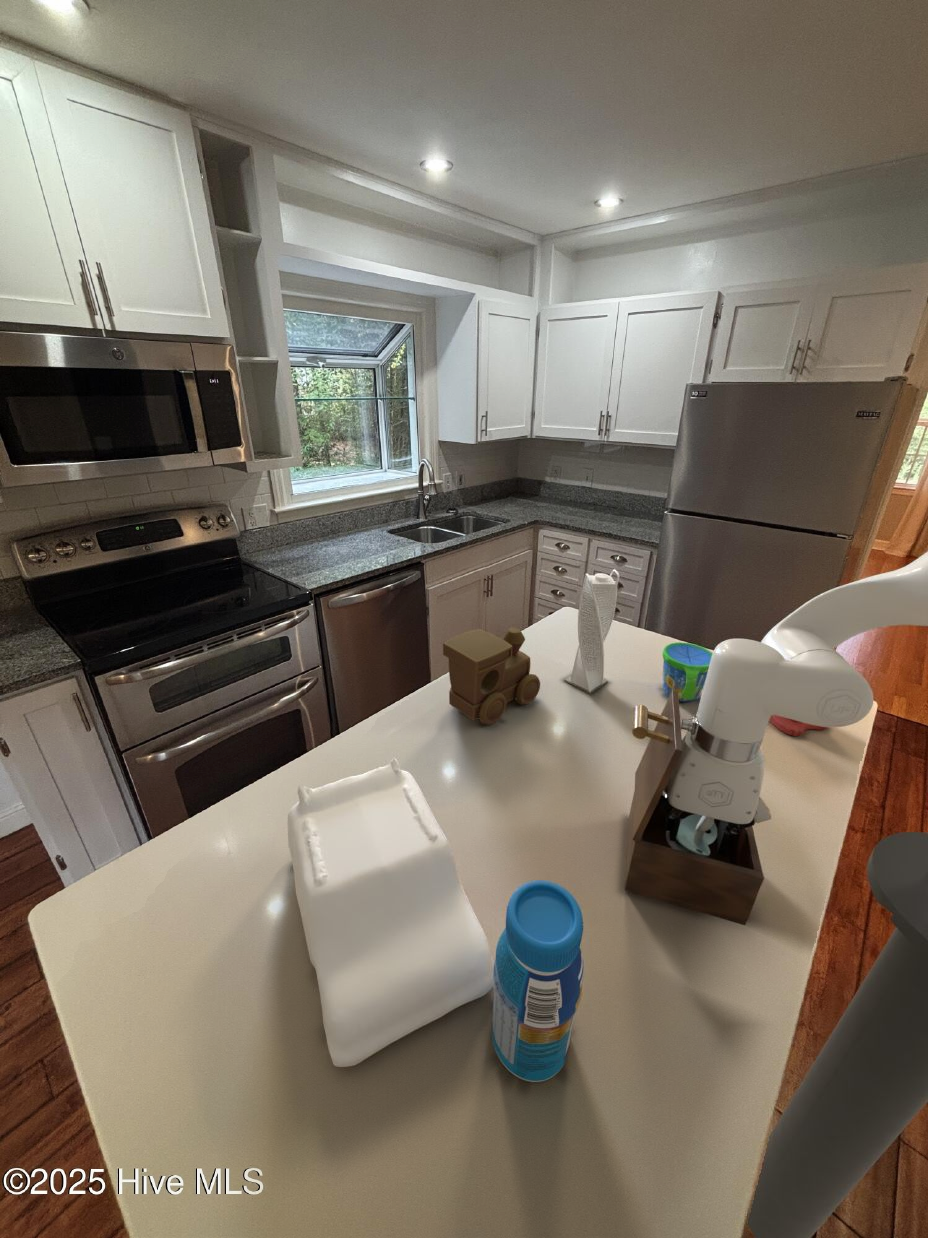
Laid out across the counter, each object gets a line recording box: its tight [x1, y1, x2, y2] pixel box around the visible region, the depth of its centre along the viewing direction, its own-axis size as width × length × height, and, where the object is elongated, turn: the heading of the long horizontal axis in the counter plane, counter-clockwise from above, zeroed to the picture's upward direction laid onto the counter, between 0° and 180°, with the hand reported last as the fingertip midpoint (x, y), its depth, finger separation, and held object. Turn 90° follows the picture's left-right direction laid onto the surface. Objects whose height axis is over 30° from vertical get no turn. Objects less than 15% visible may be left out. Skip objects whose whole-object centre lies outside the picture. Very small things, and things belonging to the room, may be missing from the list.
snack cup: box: [662, 642, 713, 703], centre depth 108 cm, size 16×10×10 cm
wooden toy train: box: [442, 627, 541, 726], centre depth 102 cm, size 20×11×17 cm, turn 132°
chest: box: [624, 787, 765, 926], centre depth 69 cm, size 15×13×9 cm
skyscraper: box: [563, 568, 621, 694], centre depth 107 cm, size 8×8×28 cm
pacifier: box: [666, 814, 717, 857], centre depth 68 cm, size 7×6×6 cm
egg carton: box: [287, 757, 495, 1068], centre depth 61 cm, size 19×30×13 cm, turn 26°
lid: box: [631, 690, 683, 842], centre depth 66 cm, size 16×13×5 cm
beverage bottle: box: [490, 879, 585, 1083], centre depth 48 cm, size 8×8×20 cm
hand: (695, 839), depth 69 cm, fingers closed on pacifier, 5 cm apart
